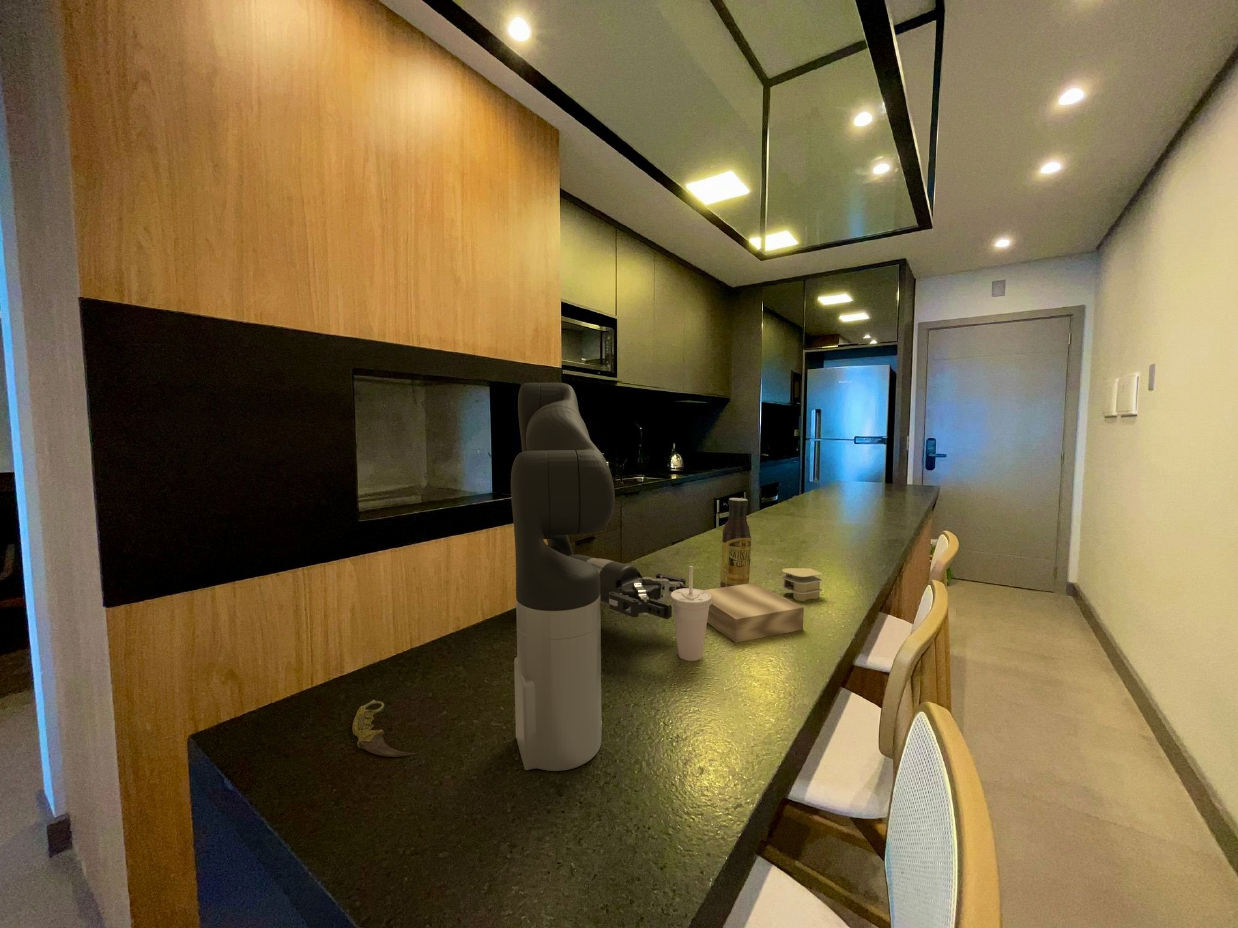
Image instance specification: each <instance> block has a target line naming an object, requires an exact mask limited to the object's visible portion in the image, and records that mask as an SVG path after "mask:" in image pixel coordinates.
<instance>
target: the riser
mask: <svg viewBox="0 0 1238 928" xmlns="http://www.w3.org/2000/svg"><path fill="white" fill-rule="evenodd" d="M704 591H706V592H708V593H709V594H711V596H712V600H711V601H712V604H711V605H710V606H709V612H708V619H707V624H709V625H710V626H712V627H713V628H715V630H717V631H719V632H720V633H721V634H722V635H724V636H726V637H727V638H728V639H730V640H731V642H734V643H735V644H737V643H741V642H746V641H747V642H748V641H752V640H756V639H762V638H767V637H772V636H776V635H782V634H787V633H792V632H796V631H797V632H798V631H803V630H804V617H805V616H804V615H805V614H804V610H805V609H804V606H802V605H800V604H798V603H796V602H794V601H792V600H790V599H788V598H786V597H784V596H782V595H779V594H778V593H776V592H773V591H772V590H770V589H767V588H765V587H764V586H761V585H759V584H758V583H756V582H751V583H750V582H749V584H743V585H736V586H729V587H722V588H721V587H716V588H709V589H704Z"/></svg>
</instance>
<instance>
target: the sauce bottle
mask: <svg viewBox="0 0 1238 928" xmlns="http://www.w3.org/2000/svg"><path fill="white" fill-rule="evenodd" d="M728 506H729V508H728V515H727V516H728V520H727V521H726V522H725V524H724V527H723V528H722V537H721V548H720V549H721V551H720V553H721V554H720V568H719V569H720V571H719V580H720V582H719V585H720V588H722V587H729V586H736V585H743V584H749V583H750V573H751V571H750V570H751V568H750V567H751V550H752V536H751V535H752V534H751V530H750V526H749V523H748V520H747V518H748V517H747V513H748V511H747V509H748V506H749V500H748V499H747V498H743V497H741V498H739V497H730V498H728Z"/></svg>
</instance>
